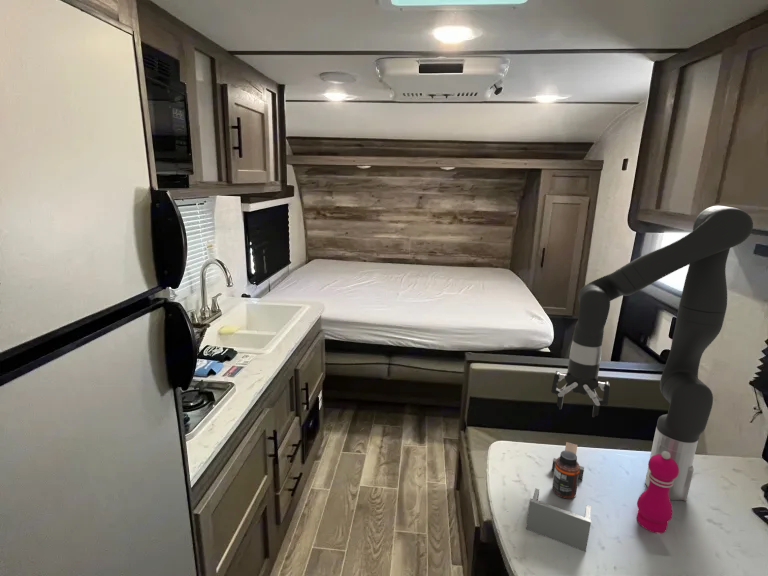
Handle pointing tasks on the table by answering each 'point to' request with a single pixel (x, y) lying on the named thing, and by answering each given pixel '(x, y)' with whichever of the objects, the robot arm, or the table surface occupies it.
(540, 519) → the grey u-shaped bracket
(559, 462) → the supplement bottle
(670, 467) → the pepper mill
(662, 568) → the table surface
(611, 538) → the table surface
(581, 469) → the scraper
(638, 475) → the table surface
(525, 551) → the table surface
